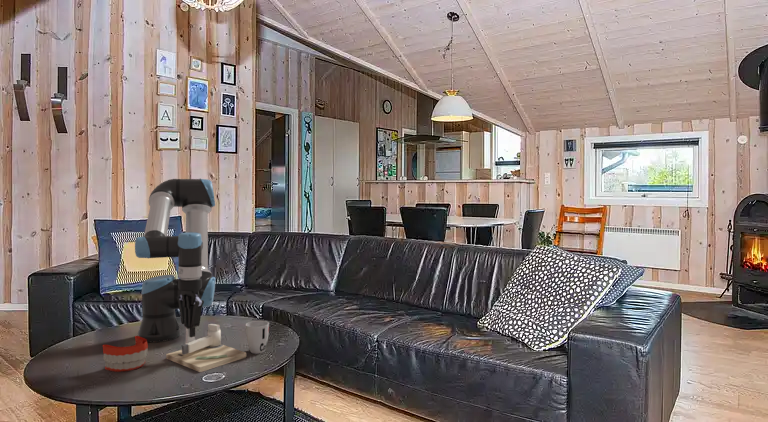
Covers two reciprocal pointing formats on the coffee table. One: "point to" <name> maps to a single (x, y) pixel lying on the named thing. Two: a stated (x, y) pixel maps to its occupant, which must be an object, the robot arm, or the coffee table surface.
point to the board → (206, 357)
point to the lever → (204, 340)
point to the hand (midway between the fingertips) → (190, 345)
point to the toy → (125, 356)
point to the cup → (257, 336)
